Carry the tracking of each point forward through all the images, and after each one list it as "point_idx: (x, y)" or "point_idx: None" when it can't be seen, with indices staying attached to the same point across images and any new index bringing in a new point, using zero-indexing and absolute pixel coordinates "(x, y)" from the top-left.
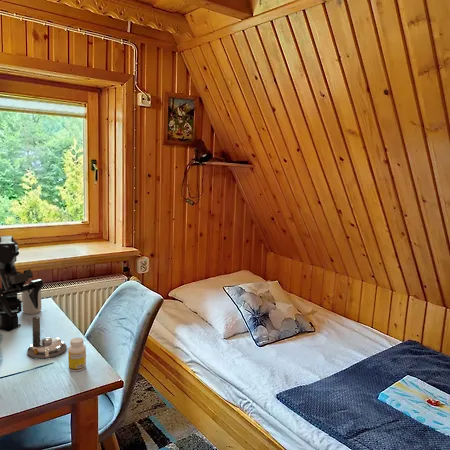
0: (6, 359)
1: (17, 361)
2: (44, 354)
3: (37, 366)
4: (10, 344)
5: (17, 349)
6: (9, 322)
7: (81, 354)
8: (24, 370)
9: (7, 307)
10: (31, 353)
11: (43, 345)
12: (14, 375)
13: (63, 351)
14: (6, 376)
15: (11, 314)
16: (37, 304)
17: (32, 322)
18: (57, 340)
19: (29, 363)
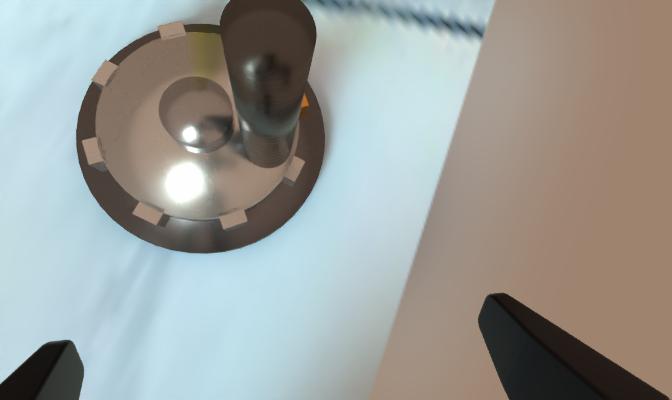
0: (424, 191)
1: (390, 130)
2: None
3: (336, 12)
4: (339, 379)
5: (334, 276)
6: None
7: None
8: (399, 21)
9: (631, 387)
10: (309, 136)
11: (234, 114)
12: (449, 12)
13: (152, 33)
14: (477, 29)
15: (505, 295)
16: (2, 390)
17: (310, 65)
18: (116, 120)
19: (353, 68)
